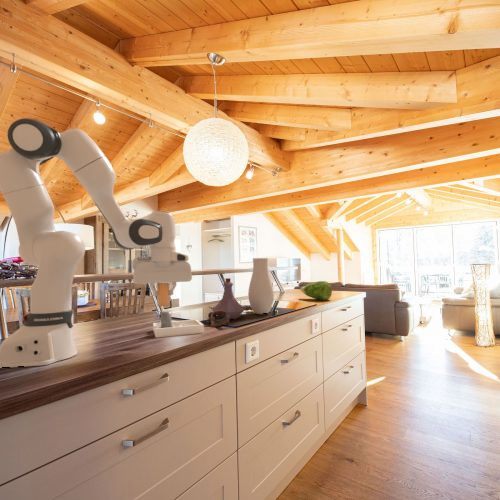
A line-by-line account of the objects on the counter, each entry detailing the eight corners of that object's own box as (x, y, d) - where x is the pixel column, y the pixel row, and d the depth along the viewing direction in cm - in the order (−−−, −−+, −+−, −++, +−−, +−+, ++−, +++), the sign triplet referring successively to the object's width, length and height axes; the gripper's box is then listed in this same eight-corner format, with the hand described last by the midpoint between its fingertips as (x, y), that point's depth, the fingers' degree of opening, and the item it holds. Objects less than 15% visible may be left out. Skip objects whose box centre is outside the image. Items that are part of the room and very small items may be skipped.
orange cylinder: (158, 306, 114) (158, 283, 114) (156, 305, 117) (156, 283, 118) (169, 305, 115) (169, 283, 116) (168, 304, 119) (167, 282, 119)
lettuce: (306, 297, 246) (306, 280, 246) (334, 299, 230) (334, 280, 231) (295, 299, 235) (295, 281, 236) (324, 301, 220) (324, 282, 220)
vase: (243, 314, 175) (242, 258, 176) (259, 311, 185) (258, 258, 186) (263, 316, 166) (262, 257, 167) (279, 313, 176) (278, 257, 177)
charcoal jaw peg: (161, 334, 125) (161, 313, 125) (160, 332, 129) (160, 311, 129) (172, 333, 127) (171, 312, 127) (170, 331, 130) (170, 311, 131)
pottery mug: (235, 326, 146) (233, 312, 142) (221, 339, 139) (219, 324, 135) (215, 317, 152) (213, 303, 148) (201, 329, 146) (198, 315, 142)
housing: (155, 340, 120) (155, 329, 120) (153, 333, 132) (153, 323, 132) (203, 335, 126) (203, 324, 127) (197, 329, 139) (196, 319, 139)
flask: (227, 322, 152) (226, 279, 153) (205, 318, 164) (204, 278, 164) (251, 317, 164) (251, 278, 165) (229, 314, 176) (229, 277, 176)
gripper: (132, 256, 110) (132, 297, 110) (192, 256, 118) (193, 294, 117) (131, 257, 116) (131, 296, 115) (188, 256, 124) (189, 293, 123)
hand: (163, 295), depth 116 cm, fingers closed on orange cylinder, 4 cm apart
